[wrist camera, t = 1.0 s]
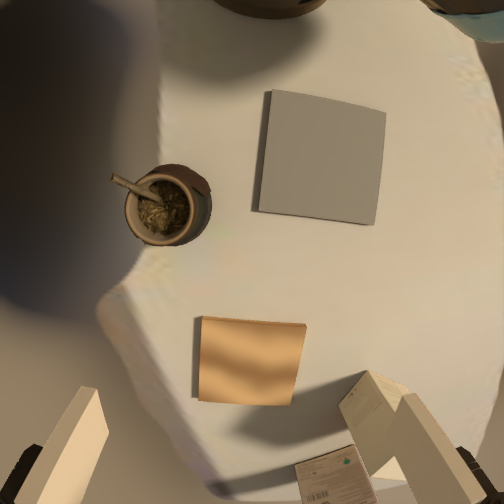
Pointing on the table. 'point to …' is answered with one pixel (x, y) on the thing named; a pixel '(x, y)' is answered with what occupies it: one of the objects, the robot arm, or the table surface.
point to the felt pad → (322, 158)
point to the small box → (374, 422)
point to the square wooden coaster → (249, 361)
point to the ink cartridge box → (335, 479)
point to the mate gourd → (167, 205)
